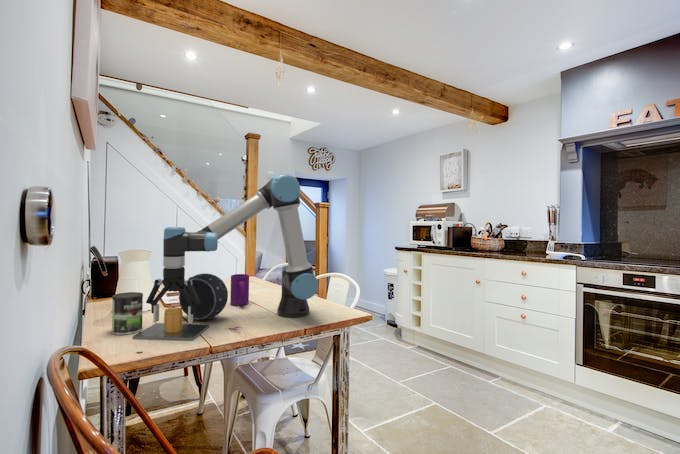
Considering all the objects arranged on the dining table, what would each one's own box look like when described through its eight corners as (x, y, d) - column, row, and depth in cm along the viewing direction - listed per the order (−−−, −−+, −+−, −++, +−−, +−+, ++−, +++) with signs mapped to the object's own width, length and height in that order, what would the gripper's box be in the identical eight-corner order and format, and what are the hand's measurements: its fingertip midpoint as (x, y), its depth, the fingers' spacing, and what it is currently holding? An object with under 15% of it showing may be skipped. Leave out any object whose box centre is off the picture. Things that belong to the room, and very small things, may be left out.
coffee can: (148, 329, 138) (148, 294, 138) (120, 336, 130) (120, 299, 129) (134, 325, 144) (134, 290, 143) (106, 331, 135) (106, 295, 135)
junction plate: (209, 327, 144) (209, 310, 143) (192, 340, 128) (192, 321, 127) (156, 325, 144) (156, 308, 144) (132, 338, 128) (132, 319, 128)
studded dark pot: (217, 324, 147) (218, 277, 147) (175, 320, 151) (175, 274, 151) (230, 317, 158) (231, 273, 157) (190, 314, 162) (191, 270, 161)
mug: (247, 301, 188) (247, 273, 188) (252, 308, 174) (252, 278, 174) (229, 302, 185) (229, 274, 184) (233, 310, 170) (233, 279, 170)
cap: (184, 327, 139) (184, 307, 138) (177, 332, 133) (177, 311, 132) (169, 327, 139) (169, 307, 138) (161, 332, 133) (161, 311, 132)
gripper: (209, 266, 139) (208, 320, 139) (147, 264, 139) (147, 318, 139) (202, 269, 131) (201, 325, 132) (136, 267, 131) (135, 324, 132)
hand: (173, 322), depth 136 cm, fingers open, 13 cm apart
